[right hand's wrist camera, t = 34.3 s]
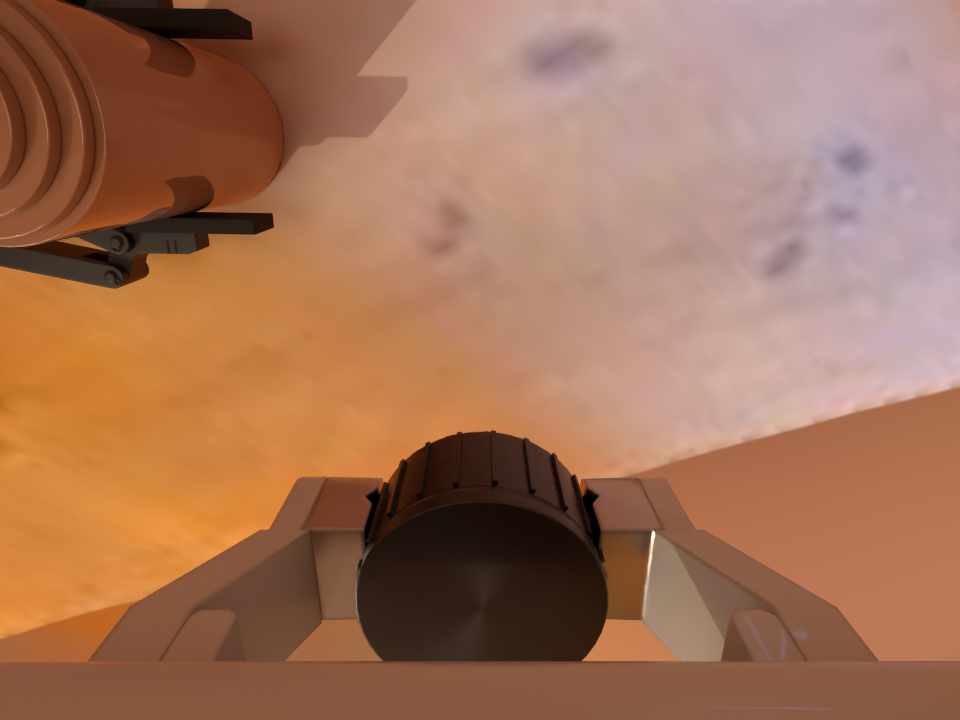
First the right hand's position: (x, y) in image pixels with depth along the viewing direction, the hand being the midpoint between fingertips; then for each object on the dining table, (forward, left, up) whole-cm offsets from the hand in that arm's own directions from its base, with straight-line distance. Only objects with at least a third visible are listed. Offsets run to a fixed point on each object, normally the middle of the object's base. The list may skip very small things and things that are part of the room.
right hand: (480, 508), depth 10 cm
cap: (0, 0, +2) cm, 2 cm away
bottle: (+17, -6, -27) cm, 32 cm away
